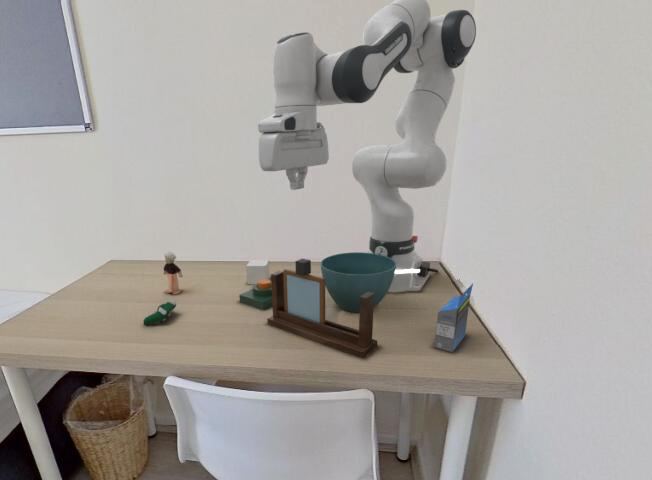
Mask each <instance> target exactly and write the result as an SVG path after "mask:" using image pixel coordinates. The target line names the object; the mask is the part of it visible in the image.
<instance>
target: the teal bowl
mask: <svg viewBox="0 0 652 480" xmlns="http://www.w3.org/2000/svg"><path fill="white" fill-rule="evenodd" d="M395 269H396V262H395V261H394V260H393V259H391V258H389V257H387V256H384V255H379V254H374V253H368V252H363V251H362V252H359V251H357V252H356V251H355V252H354V251H353V252H343V253H337V254H333V255H329V256H327V257H324V258H323V259H322V260H321V261H320V271H321V277H322V278H325V289H326V290H327V292H328V295H329V296H330V297H331V299H332V301H333V302H334V303H335V305H337V306H338V307H339V308H340V309H341V310H342V311H344V312H345V313H348V314H355V315H360V296H362V295H363V294H365V293H367V292H370V293H374V309H375V308H376V307H377V306H378V305H379V304H380V303H381V302H382V301H383V299H384V298H385V297H386V295H387V293H389V292H388V290H389V288H390V286H391V284H392V281H393V278H394V274H395Z"/></svg>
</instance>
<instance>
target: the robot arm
mask: <svg viewBox="0 0 652 480" xmlns="http://www.w3.org/2000/svg"><path fill="white" fill-rule="evenodd" d="M431 16H432V15H431V7H430V5H429V2H428V1H427V0H394V1H392V2H389V3H388V4H387V5H384V7H382V8H381V9H379V10H378V11H377V12H375V13H374V14H373V15H372V16H371V17H370V19H369V20H368V21H367V22H366V24H365V25H364V28H363V33H362V44H361V45H357V46H355V47H352V48H349V49H347V50H343V51H339V52H334V53H331V54H328V53H327V52H324V51H323V50H322V49H321V48H320V47H319V46H318V45H317V43H316V42H315V39H314V36H313V34H312V33H311V32H305V31H303V32H298V33H295V34H289V35H287V36H284V37H281V38H280V39H278V41H276V43H275V46H274V51H273V61H272V77H273V79H272V80H273V88H274V91H275V102H274V113H273V114H271V115H270V116H268V117H266V118H264V119H262V120H259V122H258V123H257V129H258V132H259V133H260V136H259V139H258V160H259V161H258V163H259V166H260V168H261V170H262V171H263V172H278V171H285V175H286V177H287V179H288V181H289V189H290V190H292V191H296V190H302V189H304V188H305V180H306V178H307V175H308V171H309V170H308V168H309V167H315V166H322V165H323V166H324V165H327V164H328V161H329V159H330V158H329V157H330V156H329V153H330V152H329V141H328V135H327V133H326V128H325V127H324V125H323V124H322V122H319V121H317V119H318V117H317V115H318V112H317V109H318V108H317V107H324V106H334V105H335V106H336V105H343V104H344V105H345V104H363V103H364V104H365V103H366V102H368V101H370V100H371V98H372V97H374V95H375V94H376V92H377V90H378V89H379V87H380V85H381V84H382V81H383V80H384V78H385V77H386V76H387V74H389V72H390V71H392V70H393V69H394V70H395V72H397V73H399V74H411V73H413V72H417V77H416V80H415V82H414V83H413V85H412V86H411V88H410V90H409V92H408V94H407V95H406V97H405V100H404V101H403V104H402V105H401V108H400V109H399V111H398V114H397V116H396V118H395V121H394V122H395V130H396V133H397V135H398V136H399V137H400V138H401V139H402V140H401V142H400V143H396V144H395V143H394V144H393V143H392V144H391V143H390V144H374V145H373V144H372V145H370V146H366V147H363V148H360V149H359V150H357V152H356V153H355V155H354V157H353V159H352V162H351V171H352V175H353V178H354V179H355V180H356V182H358V183H359V185H361V187H362V188H363V190H364V192H365V194H366V196H367V198H368V201H369V204H370V209H371V210H370V211H371V236H370V237H369V242H368V245H369V246H368V248H369V251H367V253H374V254H379V255H384V256H387V257H389V258H391V259H393V260H394V261H395V262H396V269H395V274H394V278H393V281H392V284H391V286H390V288H389V290H388V292H387V293H405V292H420V291H421V290H422V289H423V287H424V286H425V284H426V282H427V281H428V279H429V278H430V273H429V272H431V273H436V274H438V273H439V270H438V269H435V268H431V262H429V261H423V258H422V256H421V255H419V254H418V253H417V251H415V244H416V243H417V242H418V240H419V239H418V238H419V237H418V235H413V233H414V232H413V231H414V218H415V211H414V209H413V206H412V205H411V204H409V203H408V202H407V201H405V200H404V199H403V196H401V193H400V191H399V189H414V190H416V189H417V190H418V189H424V188H429V187H431V188H432V187H434V186H436V185H437V184H438V183H440V181H441V180H442V178H444V175H445V173H446V170H447V157H446V153H444V150H443V149H442V148H441V147H440V146H439V145H438V143H437V140H436V135H437V132H438V129H439V127H440V125H441V122H442V119H443V117H444V116H445V113H446V111H447V108H448V106H449V104H450V102H451V98H452V95H453V91H454V87H455V84H456V83H455V81H456V78H455V74H454V71H453V69H458V68H459V67H460V66H461V65H462V64H463V63H464V61H465V59H466V57H467V56H468V54H469V53H470V52H471V50H472V48H473V46H474V43H475V41H476V38H477V37H476V36H477V27H476V26H477V25H476V21H475V18H474V17H473V15H472V14H471V12H469V11H468V10H466V9H457V10H451V11H449V12H448V13H444V14H441V15H437V16H434V17H431Z"/></svg>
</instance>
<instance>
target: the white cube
mask: <svg viewBox="0 0 652 480" xmlns="http://www.w3.org/2000/svg"><path fill="white" fill-rule="evenodd" d="M245 267H246V281H247V285H255V284H257V283H258V281H259V280H263V279H267V280H271V273H270V272H271V271H270V270H271V269H270V260H269V259H250V260H249V262H248V263H247V264H246V265H245Z"/></svg>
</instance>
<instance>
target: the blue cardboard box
mask: <svg viewBox="0 0 652 480" xmlns="http://www.w3.org/2000/svg"><path fill="white" fill-rule="evenodd" d="M473 286H474V283H471V284H470V285H469V287H468V288H467V289H466V290H465V291H463V293H462V294H461V295H457V296H454V297H451V298H450V299H449V300H448V301H447V302H446V303H445V304H444V305H443V307H441V309H440V310H439V311H438V313H437V320H436V329H435V337H434V338H435V339H434V345H433V346H434V349H438V350H441V351H446V352H447V353H453V352H454V351H455V350H456V349H457V347H458V346H459V345H460V343H461V342H462V341H463V339H464V338H465V337H466V333H467V331H466V330H467V322H468V316H469V307H470V301H471V300H470V299H471V294H472V290H473Z"/></svg>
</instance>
